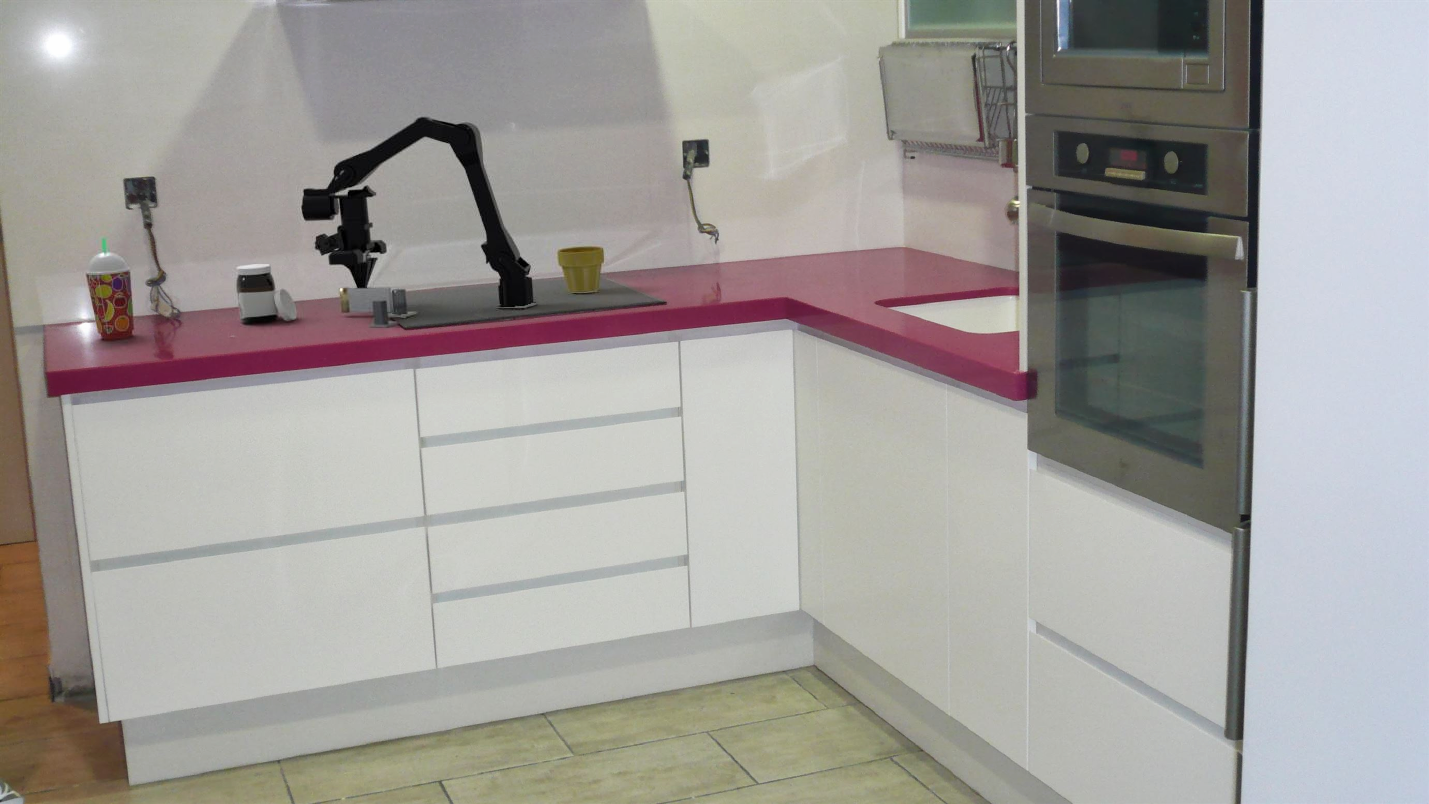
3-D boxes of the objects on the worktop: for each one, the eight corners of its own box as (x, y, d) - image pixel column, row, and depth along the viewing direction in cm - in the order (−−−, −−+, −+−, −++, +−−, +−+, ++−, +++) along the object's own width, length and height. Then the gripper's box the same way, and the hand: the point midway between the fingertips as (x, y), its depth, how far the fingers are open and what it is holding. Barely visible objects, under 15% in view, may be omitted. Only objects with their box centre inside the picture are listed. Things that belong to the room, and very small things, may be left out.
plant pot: (551, 295, 315) (548, 251, 313) (573, 288, 325) (570, 245, 322) (593, 296, 312) (590, 252, 309) (613, 289, 321) (611, 246, 319)
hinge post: (417, 314, 298) (415, 288, 296) (404, 318, 293) (402, 292, 292) (397, 313, 300) (395, 287, 298) (384, 317, 295) (381, 291, 294)
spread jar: (238, 319, 300) (231, 265, 298) (293, 314, 304) (287, 260, 302) (243, 328, 289) (237, 271, 287) (300, 322, 294) (294, 266, 291)
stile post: (397, 324, 287) (395, 299, 286) (386, 327, 283) (384, 303, 282) (381, 323, 288) (378, 299, 287) (369, 327, 285) (367, 302, 284)
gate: (393, 310, 298) (391, 286, 296) (389, 312, 296) (387, 288, 294) (344, 310, 300) (341, 287, 298) (339, 312, 297) (337, 289, 296)
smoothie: (102, 334, 288) (88, 236, 284) (144, 332, 289) (131, 234, 284) (88, 342, 280) (74, 241, 275) (131, 340, 281) (118, 239, 276)
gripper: (334, 215, 307) (342, 286, 311) (300, 225, 289) (308, 300, 293) (384, 214, 306) (390, 285, 310) (352, 224, 288) (360, 299, 292)
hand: (362, 292), depth 301 cm, fingers closed
